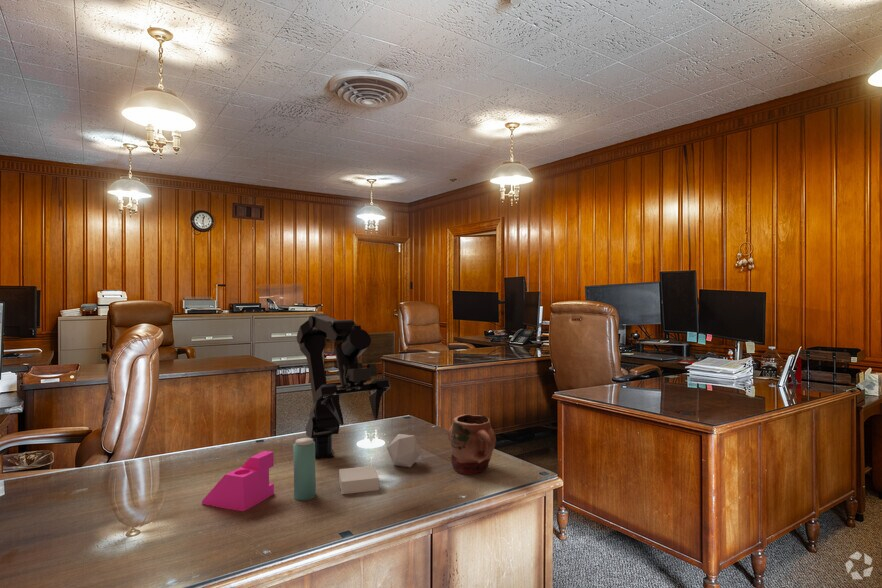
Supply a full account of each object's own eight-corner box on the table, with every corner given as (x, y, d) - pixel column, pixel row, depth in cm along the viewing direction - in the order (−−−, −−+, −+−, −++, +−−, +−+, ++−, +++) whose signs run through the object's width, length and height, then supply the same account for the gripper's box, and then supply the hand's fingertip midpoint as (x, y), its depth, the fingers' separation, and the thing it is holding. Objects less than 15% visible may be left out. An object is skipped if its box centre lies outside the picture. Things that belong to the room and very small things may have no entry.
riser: (339, 480, 129) (339, 469, 129) (374, 477, 132) (374, 465, 132) (341, 494, 121) (341, 481, 121) (379, 490, 123) (378, 477, 123)
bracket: (274, 494, 121) (273, 451, 121) (243, 511, 112) (243, 465, 112) (234, 488, 126) (233, 447, 126) (201, 504, 116) (201, 460, 116)
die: (426, 464, 143) (414, 431, 148) (422, 457, 135) (410, 423, 140) (398, 476, 142) (387, 443, 147) (393, 470, 135) (381, 435, 139)
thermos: (294, 493, 122) (293, 438, 122) (315, 490, 123) (314, 436, 123) (293, 501, 117) (293, 444, 117) (315, 498, 118) (315, 442, 118)
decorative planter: (514, 477, 130) (513, 423, 130) (474, 486, 124) (473, 430, 124) (472, 456, 148) (472, 408, 148) (436, 463, 142) (435, 414, 142)
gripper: (323, 355, 122) (334, 418, 116) (392, 350, 132) (405, 408, 126) (310, 371, 130) (320, 431, 124) (376, 365, 140) (388, 420, 134)
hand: (359, 422), depth 127 cm, fingers open, 9 cm apart
